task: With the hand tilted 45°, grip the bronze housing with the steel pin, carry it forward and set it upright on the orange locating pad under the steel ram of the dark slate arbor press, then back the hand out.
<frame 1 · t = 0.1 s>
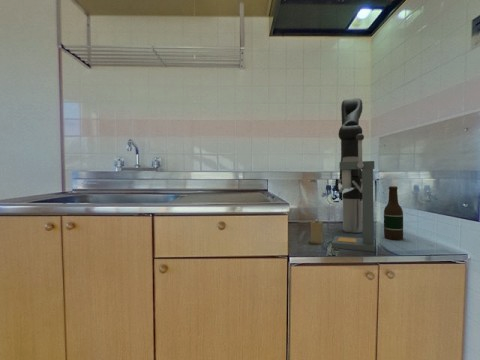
hand: (350, 200, 128), 17 cm above the table, tool pointing down, fingers open, 8 cm apart
housing: (316, 242, 118), on the table
beer bottle: (393, 238, 123), on the table
press: (353, 245, 111), on the table
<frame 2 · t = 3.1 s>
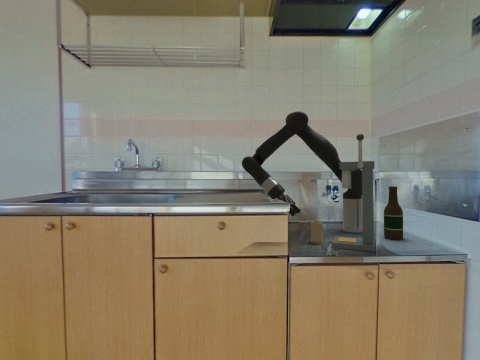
hand: (297, 213, 121), 12 cm above the table, tool tilted 45°, fingers open, 8 cm apart
nothing on the table moved.
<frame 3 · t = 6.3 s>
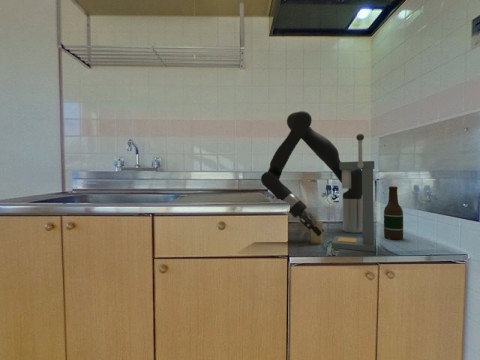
hand: (321, 233, 117), 4 cm above the table, tool tilted 45°, fingers closed on housing, 4 cm apart
housing: (316, 242, 118), on the table, touching gripper
everything else where it was.
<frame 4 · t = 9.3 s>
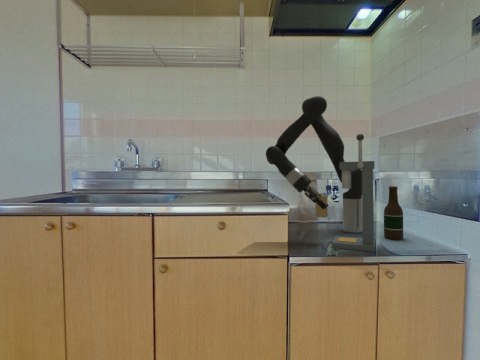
hand: (326, 207, 116), 16 cm above the table, tool tilted 45°, fingers closed on housing, 4 cm apart
housing: (321, 216, 117), point 12 cm above the table, touching gripper
everything else where it was.
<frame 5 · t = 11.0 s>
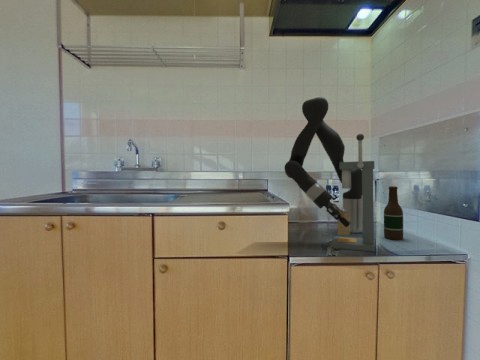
hand: (348, 224, 112), 9 cm above the table, tool tilted 45°, fingers closed on housing, 4 cm apart
housing: (343, 233, 113), point 5 cm above the table, touching gripper
everything else where it was.
when the fingers open (8 cm above the table, at t = 12.3 s): housing drops 1 cm, resting on press.
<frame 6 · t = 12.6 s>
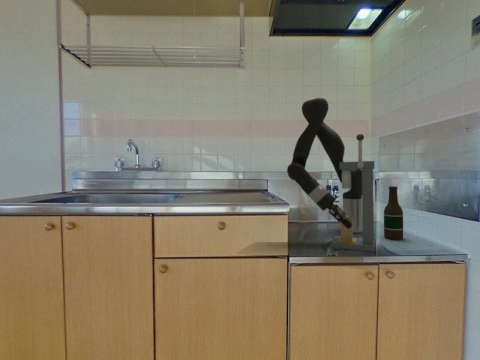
hand: (350, 225, 112), 8 cm above the table, tool tilted 45°, fingers open, 7 cm apart
housing: (346, 239, 112), point 2 cm above the table, touching press
everything else where it was.
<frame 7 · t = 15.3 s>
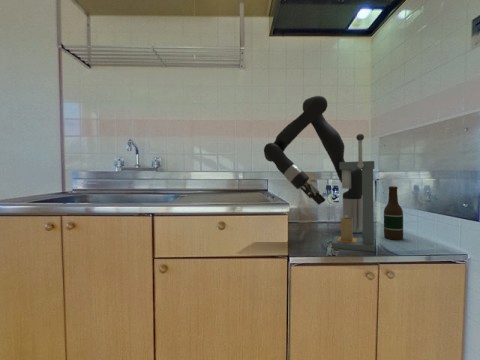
hand: (322, 202, 116), 18 cm above the table, tool tilted 45°, fingers open, 8 cm apart
nothing on the table moved.
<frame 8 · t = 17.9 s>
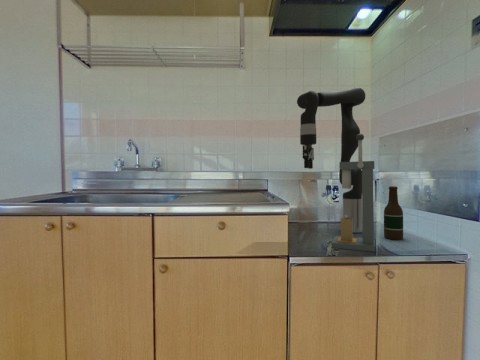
hand: (308, 168, 128), 33 cm above the table, tool pointing down, fingers open, 8 cm apart
nothing on the table moved.
at the end: housing 0.1 cm from the target spot on the press, point 2.3 cm above the press's base; housing tilted 0°; the gripper is holding nothing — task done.
